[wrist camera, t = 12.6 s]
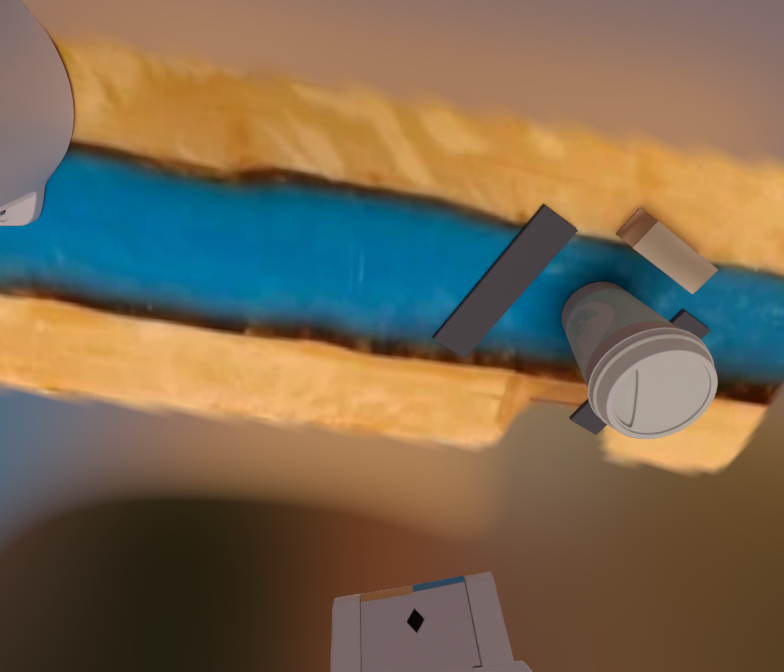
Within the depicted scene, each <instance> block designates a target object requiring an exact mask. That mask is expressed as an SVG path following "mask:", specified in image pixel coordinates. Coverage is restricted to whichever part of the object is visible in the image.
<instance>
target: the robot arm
mask: <svg viewBox="0 0 784 672" xmlns="http://www.w3.org/2000/svg"><path fill="white" fill-rule="evenodd" d="M73 123H74V107H73V98H72V92H71V87H70V83H69V80H68V76H67V73H66V70H65V68H64V65H63V63H62V60H61V58H60V56H59V54H58V52H57V50H56V48H55V46H54V44H53V43H52V41H51V39H50V38H49V36H48V34H47V33H46V31H45V30H44V29H43V27H42V26H41V24H40V23H39V22H38V20H37V19H36V18H35V17H34V15H33V14H32V13H31V12H30V11H29V9H28V8H27V7H26V6H25V5H24V4H23V3H22V2H21V1H20V0H0V226H21V225H26V224H29V223H31V222H33V221H35V220H36V219H37V218H38V217H39V215H40V213H41V210H42V206H43V199H44V190H45V185H46V182H47V180H48V179H49V177H50V176H51V174H52V173H53V172H54V170H55V169H56V168H57V166H58V165H59V164H60V162H61V161H62V159H63V157H64V155H65V154H66V151H67V149H68V146H69V144H70V140H71V136H72V131H73ZM3 210H6V212H4V211H3ZM464 580H465V581H464ZM331 644H332V645H331V672H533V671H532V670H531V669H530V668H529V667H528V666H527V665H526V664H525V663H524V662H523V661H514V660H513V656H512V651H511V647H510V643H509V639H508V636H507V631H506V627H505V623H504V619H503V615H502V611H501V607H500V603H499V599H498V595H497V591H496V587H495V583H494V579H493V576H492V574H491V572H486V573H481V574H476V575H470V576H465V577H463V576H460V577H454V578H449V579H444V580H438V581H433V582H427V583H422V584H417V585H413V586H409V587H402V588H396V589H390V590H383V591H377V592H371V593H365V594H356V595H350V596H344V597H338V598H335V600H334V605H333V613H332V643H331Z"/></svg>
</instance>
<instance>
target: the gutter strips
mask: <svg viewBox="0 0 784 672" xmlns="http://www.w3.org/2000/svg"><path fill="white" fill-rule="evenodd" d="M577 231H578V230H577V229H576V228H574V227H573V226H572V225H570V224H569V223H568V222H566V221H565V220H564V219H562V218H561V217H560V216H558V215H557V214H556V213H555V212H553V211H552V210H551V209H549V208H548V207H547V206H545V205H544V204H543V205H542V207H541V208H540V209H539V210H538V211H537V213H536V214H535V215H534V216H533V217H532V219H531V220H530V221H529V222H528V223H527V225H526V226H525V227H524V228H523V229H522V231H521V232H520V233H519V234H518V235H517V237H516V238H515V239H514V240H513V241H512V243H511V244H510V245H509V246H508V247H507V249H506V250H505V251H504V252H503V253H502V255H501V256H500V257H499V258H498V259H497V261H496V262H495V263H494V264H493V265H492V267H491V268H490V269H489V270H488V271H487V273H486V274H485V275H484V276H483V277H482V279H481V280H480V281H479V282H478V283H477V285H476V286H475V287H474V288H473V289H472V290H471V292H470V293H469V294H468V295H467V296H466V298H465V299H464V300H463V301H462V302H461V304H460V305H459V306H458V307H457V308H456V310H455V311H454V312H453V313H452V314H451V316H450V317H449V318H448V319H447V320H446V322H445V323H444V324H443V325H442V326H441V328H440V329H439V330H438V331H437V332H436V334H435V335H434V336H433V340H435V341H437V342H439V343H440V344H442V345H444V346H445V347H447V348H449V349H450V350H452V351H454V352H456V353H457V354H459V355H461V356H462V357H464V358H466V356H467V355H468V354H469V353H470V352H471V351H472V350H473V348H474V347H475V346H476V345H477V344H478V343H479V342H480V341H481V339H482V338H483V337H484V336H485V335H486V334H487V333H488V331H489V330H490V329H491V328H492V327H493V326H494V325H495V324H496V322H497V321H498V320H499V319H500V318H501V317H502V316H503V315H504V313H505V312H506V311H507V310H508V309H509V308H510V307H511V305H512V304H513V303H514V302H515V301H516V300H517V299H518V298H519V296H520V295H521V294H522V293H523V292H524V291H525V290H526V289H527V287H528V286H529V285H530V284H531V283H532V282H533V281H534V279H535V278H536V277H537V276H538V275H539V274H540V273H541V272H542V270H543V269H544V268H545V267H546V266H547V265H548V264H549V263H550V261H551V260H552V259H553V258H554V257H555V256H556V255H557V253H558V252H559V251H560V250H561V249H562V248H563V247H564V246H565V244H566V243H567V242H568V241H569V240H570V239H571V238H572V236H573V235H574V234H575V233H576V232H577ZM670 323H672V324H673V325H675V326H676V327H677V328H679V329H682V330H685V331H688V332H690V333H692V334H694V335H695V336H697V337H698V338H699V339H700V340H701V339H702V338H703V337H704V336H705V335H706V334H707V333H708V332H710V331H711V330H709V329H708V328H707V327H706V326H704V325H703V324H702V323H700V322H699V321H698V320H696V319H695V318H694V317H692V316H691V315H690V314H688V313H687V312H686V311H685V310H683V309H682V310H681V311H680V312H679V313H678V314H677V315H676V316H675V317H674V318H673V319H672V320H671V321H670ZM570 420H572V421H573V422H575V423H577V424H578V425H580V426H582V427H584V428H585V429H587V430H589V431H590V432H592V433H594V434H598V433H599V432H600V431H601V430H602V429H603V428H604V427H605V426H606V425H607V424H606V423H604V422H603V421H602V420H601V419H600V418H599V417H598V416H597V415H596V414H595V412H594V411H593V409H592V408H591V406H590V403H589V399H588V400H587V401H586V402H585V403H584V404H583V405H581V406H580V407H579V408H578V409H577V410H576V411H575V412H574V413H573V414H572V415H571V416H570Z"/></svg>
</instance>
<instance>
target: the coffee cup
mask: <svg viewBox="0 0 784 672" xmlns="http://www.w3.org/2000/svg"><path fill="white" fill-rule="evenodd" d="M561 321H562V325H563V328H564V331H565V333H566V336H567V338H568V341H569V343H570V346H571V348H572V351H573V353H574V355H575V358H576V360H577V363H578V365H579V368H580V370H581V373H582V375H583V377H584V380H585V382H586V385H587V387H588V399H589V403H590V406H591V408H592V409H593V411H594V412H595V414H596V415H597V416H598V417H599V418H600V419H601V420H602V421H603V422H604V423H606V424H607V425H609V426H610V427H612V428H614V429H616V430H617V431H618V432H620V433H622V434H624V435H626V436H628V437H632V438H637V439H655V438H661V437H665V436H668V435H671V434H674V433H676V432H678V431H680V430H682V429H684V428H686V427H687V426H689V425H690V424H692V423H693V422H695V421H696V420H697V419H698V418H699V417H700V416H701V415H702V414H703V413H704V412H705V411H706V410H707V408H708V407H709V406H710V404H711V402H712V400H713V398H714V396H715V393H716V390H717V383H718V381H717V374H716V371H715V368H714V362H713V359H712V356H711V354H710V352H709V351H708V349H707V347H706V346H705V344H704V343H703V342H702V341H701V340H700V339H699V338H698V337H697V336H695V335H694V334H692V333H690V332H688V331H685V330H682V329H679V328H677V327H676V326H675V325H673V324H672V323H670V322H669V321H668V320H666V319H665V318H663V317H662V316H661V315H659V314H658V313H656V312H655V311H654V310H652V309H651V308H649V307H648V306H647V305H645V304H644V303H642V302H641V301H640V300H638V299H637V298H635V297H634V296H633V295H631V294H630V293H628V292H627V291H625V290H624V289H623V288H621V287H620V286H618V285H616V284H614V283H611V282H604V281H603V282H594V283H590V284H588V285H585V286H583V287H581V288H580V289H578V290H577V291H576V292H574V293H573V294H572V295H571V296H570V297H569V299H568V300H567V302H566V303H565V305H564V307H563V310H562V315H561Z"/></svg>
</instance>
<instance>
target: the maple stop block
mask: <svg viewBox="0 0 784 672" xmlns="http://www.w3.org/2000/svg"><path fill="white" fill-rule="evenodd" d="M616 234H617V235H618V236H620V237H621V238H622V239H623V240H624V241H625V242H626V243H628V244H629V245H630V246H631V247H632V248H633V249H635V250H636V251H637V252H639V253H640V254H641V255H642V256H644V257H645V258H646V259H648V260H649V261H650V262H651V263H653V264H654V265H655V266H657V267H658V268H659V269H660V270H662V271H663V272H664V273H666V274H667V275H668V276H670V277H671V278H672V279H673V280H675V281H676V282H677V283H679V284H680V285H681V286H682V287H684V288H685V289H686V290H688V291H689V292H690V293H691V294H694V293H695V292H696V291H697V290H698V289H699V288H700V287H701V286H702V285H703V284H704V283H705V282H706V281H707V280H708V279H709V278H710V277H711V276H712V275H713V274H714V273H715V272H717V271H718V269H716V268H715V267H714V266H713V265H711V264H710V263H709V262H708V261H707V260H705V259H704V258H703V257H702V256H701V255H699V254H698V253H697V252H696V251H694V250H693V249H692V248H691V247H690V246H688V245H687V244H686V243H685V242H683V241H682V240H681V239H680V238H679V237H677V236H676V235H675V234H674V233H672V232H671V231H670V230H669V229H668V228H666V227H665V226H664V225H663V224H661V223H660V222H659V221H658V220H656V219H655V218H653V217H652V216H651V215H649V214H648V213H646V212H645V211H644V210H642V209H641V208H639V210H638V211H637V212H636V213H635V214H634V215H633V216H632V217H631V218H630V219H629V220H628V222H627V223H626V224H625V225H624V226H623V227H622V228H621V229H620V230H619V231H618V232H617V233H616Z"/></svg>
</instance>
